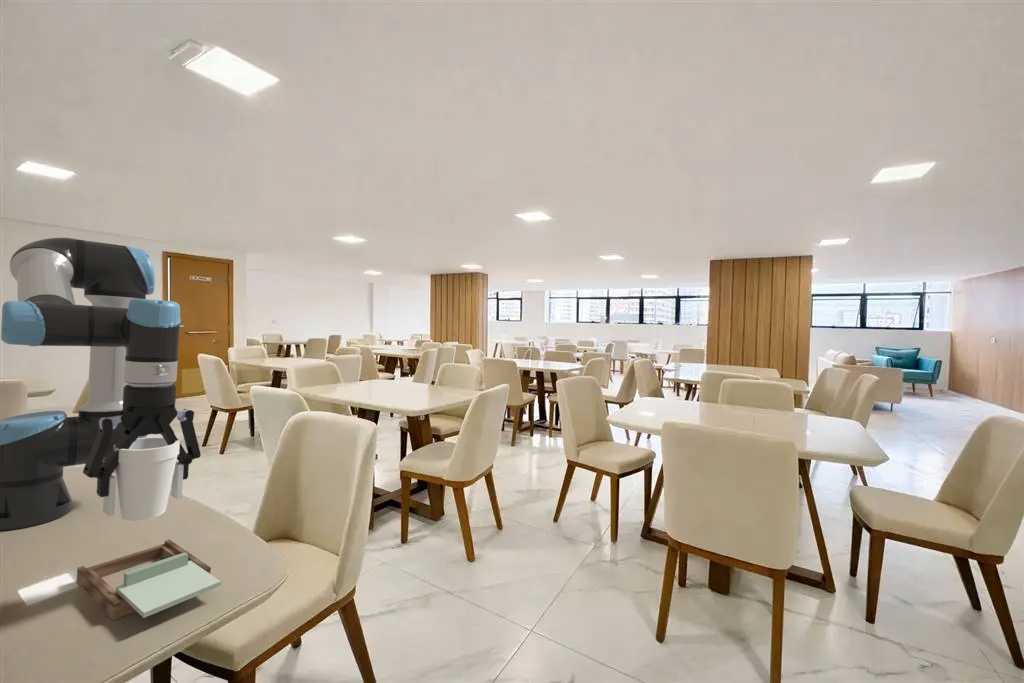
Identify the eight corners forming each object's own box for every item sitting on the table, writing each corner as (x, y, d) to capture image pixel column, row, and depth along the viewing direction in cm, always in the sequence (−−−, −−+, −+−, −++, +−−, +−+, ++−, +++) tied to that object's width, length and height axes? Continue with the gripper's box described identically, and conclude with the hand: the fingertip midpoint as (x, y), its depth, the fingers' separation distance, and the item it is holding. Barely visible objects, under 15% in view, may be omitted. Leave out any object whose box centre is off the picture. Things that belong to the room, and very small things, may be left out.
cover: (115, 591, 74) (116, 575, 74) (190, 564, 84) (191, 550, 84) (143, 617, 69) (144, 600, 69) (220, 585, 78) (221, 570, 78)
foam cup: (108, 510, 82) (112, 440, 82) (171, 499, 89) (175, 434, 88) (111, 529, 75) (115, 453, 75) (179, 516, 82) (183, 446, 82)
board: (76, 581, 80) (77, 567, 80) (168, 551, 92) (169, 539, 92) (113, 620, 71) (114, 604, 71) (209, 581, 83) (210, 567, 83)
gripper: (76, 391, 70) (68, 531, 71) (226, 382, 89) (219, 493, 89) (60, 385, 74) (53, 518, 74) (207, 378, 93) (201, 484, 93)
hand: (144, 504), depth 82 cm, fingers closed on foam cup, 9 cm apart
